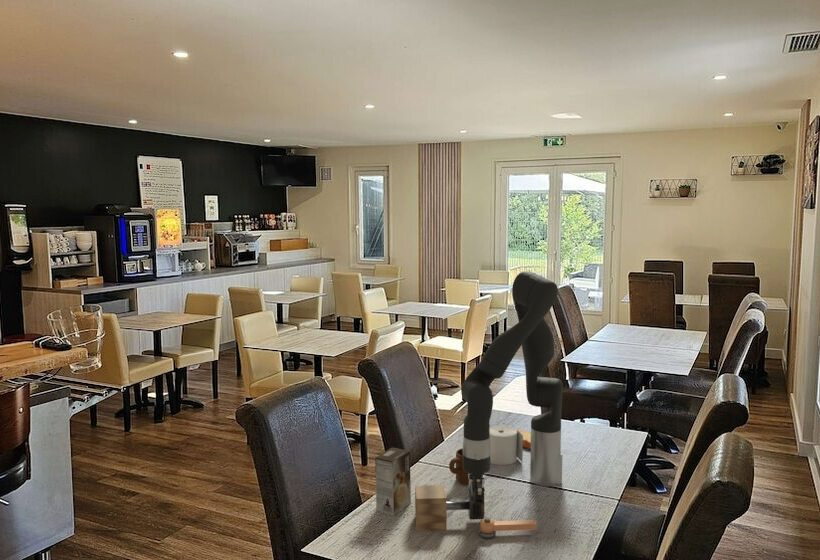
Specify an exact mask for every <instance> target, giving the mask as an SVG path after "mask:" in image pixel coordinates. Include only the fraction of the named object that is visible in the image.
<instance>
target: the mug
mask: <svg viewBox="0 0 820 560" xmlns="http://www.w3.org/2000/svg"><path fill="white" fill-rule="evenodd" d="M448 467H449V471H450V473H451V474H454V475H455V480H456V482H457V483H458V484H460V485H463V486H469V478H468V474H469V473H468V472H466V471H465V470H464V469H463V447H462V448H459V449H457V450H456V452H455V457H453V458H452V459H451V460H450V461H449V464H448Z"/></svg>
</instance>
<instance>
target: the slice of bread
mask: <svg viewBox="0 0 820 560" xmlns="http://www.w3.org/2000/svg"><path fill="white" fill-rule="evenodd" d="M516 430H517V431H519V432H520V433H521V434H522V435H523V449H527V450H530V451H531V431H527V430H522V429H516Z"/></svg>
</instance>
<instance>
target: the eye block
mask: <svg viewBox="0 0 820 560" xmlns="http://www.w3.org/2000/svg"><path fill="white" fill-rule="evenodd" d="M414 501H415V502H414V507H415V508H414V509H415V511H414V512H415V515H414V517H415V525H416V532H422V531H424V532H425V531H426V532H427V531H430V532H431V531H447V526H448V525H447V523H448V522H447V515H448V514H447V513H448V510H447V502H448V501H447V494H446V490H445V484H434V485H433V484H432V485H431V484H430V485H429V484H428V485H414Z"/></svg>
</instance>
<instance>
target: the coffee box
mask: <svg viewBox="0 0 820 560" xmlns="http://www.w3.org/2000/svg"><path fill="white" fill-rule="evenodd" d="M374 458H375V459H374V460H375V462H374V463H375V500H376V501H375V502H376V503H375V504H376V505H375V507H376V508H375V509H376V511H378V512H381V513H383V514H386V515H387V514H388V515H391V516H395V515H397V514H398V513H400V512H401V511H402V510H403V509H405V508H406V507H407V506H408V505H409V506H410V504H412V496H411V495H412V493H411V492H412V491H411V490H412V489H411V486H412V485H411V451H410V450H407V449H401V448H397V447H390V448H389V449H387V450H385V451H384V452H382V453H380V454H379V455H377V456H375V457H374Z"/></svg>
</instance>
